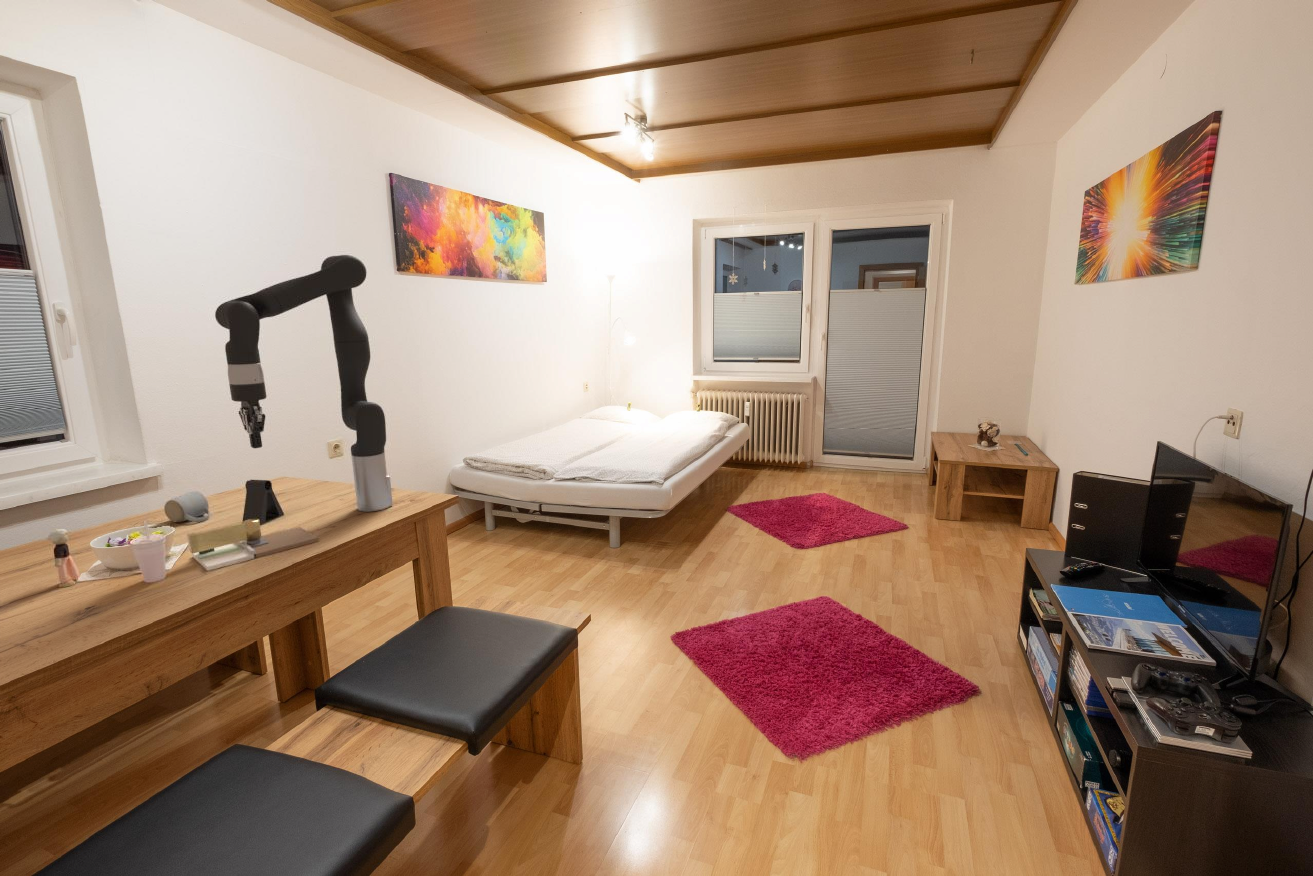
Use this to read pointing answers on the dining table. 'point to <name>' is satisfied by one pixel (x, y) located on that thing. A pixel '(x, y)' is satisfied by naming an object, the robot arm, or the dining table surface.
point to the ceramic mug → (187, 507)
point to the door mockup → (254, 548)
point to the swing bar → (224, 535)
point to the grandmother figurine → (63, 558)
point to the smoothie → (150, 555)
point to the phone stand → (261, 502)
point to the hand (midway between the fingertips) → (256, 447)
